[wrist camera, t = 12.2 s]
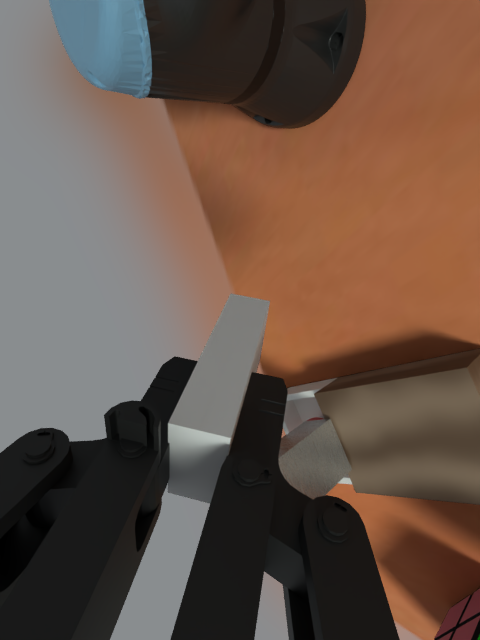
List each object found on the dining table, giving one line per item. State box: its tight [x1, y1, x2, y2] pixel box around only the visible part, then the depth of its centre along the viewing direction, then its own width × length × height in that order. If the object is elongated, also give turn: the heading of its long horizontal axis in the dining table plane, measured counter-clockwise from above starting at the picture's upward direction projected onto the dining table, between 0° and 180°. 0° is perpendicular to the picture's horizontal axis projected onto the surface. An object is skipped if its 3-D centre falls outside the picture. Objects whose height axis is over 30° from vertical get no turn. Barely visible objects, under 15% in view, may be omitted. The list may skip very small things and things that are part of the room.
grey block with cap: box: [279, 419, 352, 499], centre depth 40 cm, size 7×5×12 cm
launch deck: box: [314, 349, 480, 505], centre depth 38 cm, size 12×17×5 cm
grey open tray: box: [283, 378, 352, 484], centre depth 49 cm, size 12×10×4 cm
